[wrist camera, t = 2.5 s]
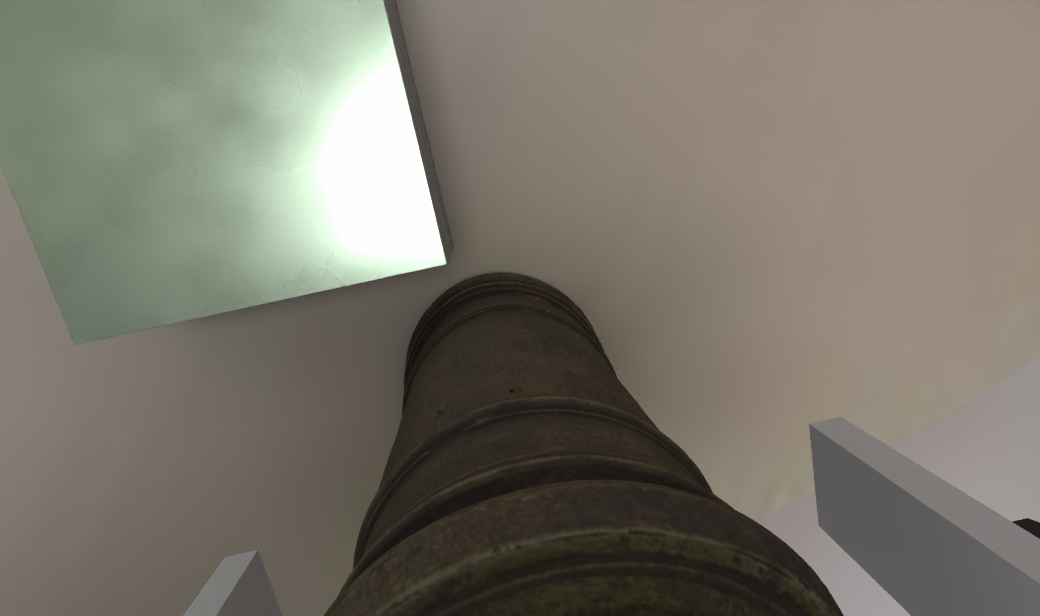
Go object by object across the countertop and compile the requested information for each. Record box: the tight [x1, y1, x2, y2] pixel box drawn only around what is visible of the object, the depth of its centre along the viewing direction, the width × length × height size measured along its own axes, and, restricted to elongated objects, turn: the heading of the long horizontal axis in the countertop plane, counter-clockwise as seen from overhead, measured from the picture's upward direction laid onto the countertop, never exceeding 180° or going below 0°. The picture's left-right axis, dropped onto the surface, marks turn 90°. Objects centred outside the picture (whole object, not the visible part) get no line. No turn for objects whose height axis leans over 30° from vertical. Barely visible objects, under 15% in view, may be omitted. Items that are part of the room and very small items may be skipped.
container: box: [324, 273, 843, 616], centre depth 16 cm, size 9×9×18 cm
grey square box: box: [0, 0, 453, 345], centre depth 18 cm, size 12×13×6 cm
